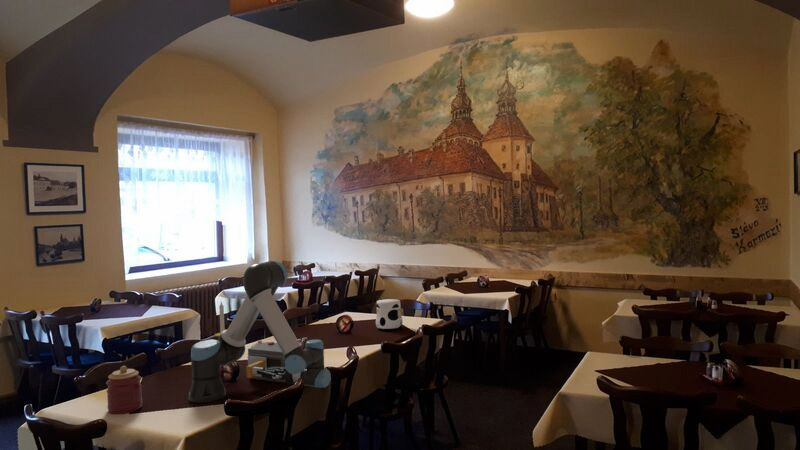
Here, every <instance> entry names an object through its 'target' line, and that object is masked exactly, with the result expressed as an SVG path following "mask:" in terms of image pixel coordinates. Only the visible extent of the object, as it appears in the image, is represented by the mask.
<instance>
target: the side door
mask: <svg viewBox="0 0 800 450" xmlns="http://www.w3.org/2000/svg"><path fill="white" fill-rule="evenodd" d="M252 367H260V368H267V358H266V357H259V356H248V355H247V365H246V366H245V376H246V378H248V379H252V378H251V377H253V376H259V377H261V375H259V374H252Z"/></svg>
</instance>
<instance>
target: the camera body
mask: <svg viewBox="0 0 800 450" xmlns="http://www.w3.org/2000/svg"><path fill="white" fill-rule="evenodd" d="M248 356H259V357H266V358H267V368H270V367H285V360H286V358H285V356H284V354H283V352H282V350H281V349H280V347H279V345H278V343H277V342H274V341H266V342H264V343H263V344H260V345H257V346H254V347H251V346H250V347H248V348H247V357H248ZM250 379H253V380H254V379H255V380H261V381H262V380H263V381H268V382H277V383H285V382H286V381H285V379H284V380H281V379H278V378H276V380H275V381H273V380H272V379H268V378H264V377H259V376H253V377H251V378H250ZM286 383H287V382H286Z"/></svg>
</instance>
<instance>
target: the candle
mask: <svg viewBox="0 0 800 450" xmlns="http://www.w3.org/2000/svg"><path fill="white" fill-rule="evenodd" d="M218 306H219V307H218V308H219V326H220V327H219V328H220V332H216V333H214V334H213V335H214V336H215V337H219V336H220V335H221V333H222V331H224V330H226V329H225V311H224V310H225V309H224V308H225V307H224V305H223V302H222V301H221V302H220V304H219V305H218Z"/></svg>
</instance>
